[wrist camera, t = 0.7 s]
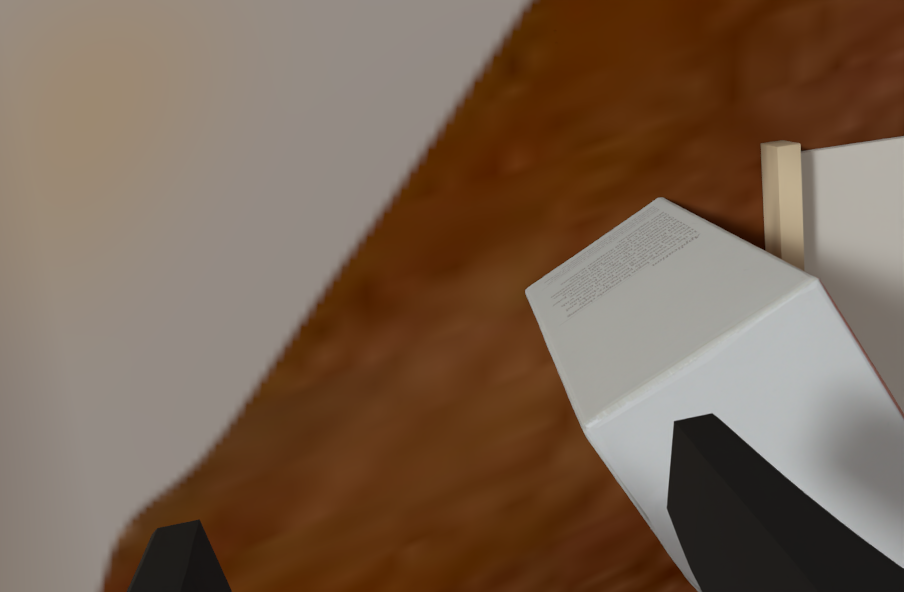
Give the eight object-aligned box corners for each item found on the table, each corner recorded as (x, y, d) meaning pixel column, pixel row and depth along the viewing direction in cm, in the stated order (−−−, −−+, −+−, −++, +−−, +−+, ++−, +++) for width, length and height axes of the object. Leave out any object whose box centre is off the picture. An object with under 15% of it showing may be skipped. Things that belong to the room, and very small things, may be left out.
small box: (770, 356, 32) (989, 542, 19) (633, 444, 32) (755, 677, 20) (661, 188, 30) (822, 271, 17) (519, 286, 31) (574, 433, 18)
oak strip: (793, 440, 32) (810, 457, 31) (774, 442, 33) (789, 459, 31) (782, 140, 29) (800, 143, 28) (760, 143, 29) (777, 147, 28)
